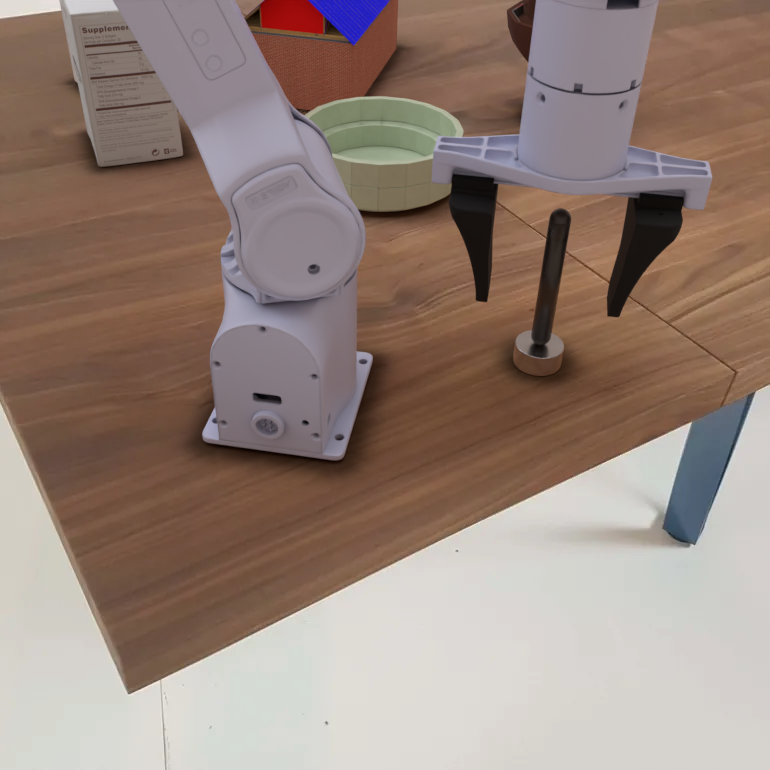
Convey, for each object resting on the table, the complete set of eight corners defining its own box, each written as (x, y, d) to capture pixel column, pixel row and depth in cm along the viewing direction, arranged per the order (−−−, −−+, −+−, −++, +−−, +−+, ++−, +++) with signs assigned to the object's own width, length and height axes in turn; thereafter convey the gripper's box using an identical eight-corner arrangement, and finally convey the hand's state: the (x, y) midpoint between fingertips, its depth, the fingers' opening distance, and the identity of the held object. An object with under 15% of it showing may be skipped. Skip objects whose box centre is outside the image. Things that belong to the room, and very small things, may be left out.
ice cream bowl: (613, 146, 82) (647, -31, 73) (489, 133, 84) (507, -42, 75) (614, 102, 91) (644, -62, 81) (501, 91, 92) (519, -72, 83)
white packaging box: (86, 134, 81) (57, -15, 74) (169, 124, 84) (150, -22, 76) (96, 169, 76) (67, 13, 68) (185, 158, 78) (166, 4, 70)
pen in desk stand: (560, 379, 56) (589, 225, 49) (511, 372, 56) (533, 219, 50) (561, 350, 58) (589, 199, 52) (514, 344, 59) (535, 194, 52)
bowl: (449, 226, 70) (453, 172, 68) (282, 208, 72) (279, 154, 69) (466, 153, 80) (470, 104, 78) (319, 139, 82) (319, 90, 79)
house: (233, 102, 88) (222, -27, 81) (296, 36, 103) (292, -77, 96) (353, 116, 86) (354, -14, 79) (400, 47, 101) (404, -68, 94)
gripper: (724, 58, 48) (667, 278, 57) (449, 36, 50) (435, 252, 58) (741, 110, 43) (675, 344, 51) (433, 83, 44) (419, 314, 53)
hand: (547, 300), depth 54 cm, fingers open, 7 cm apart
